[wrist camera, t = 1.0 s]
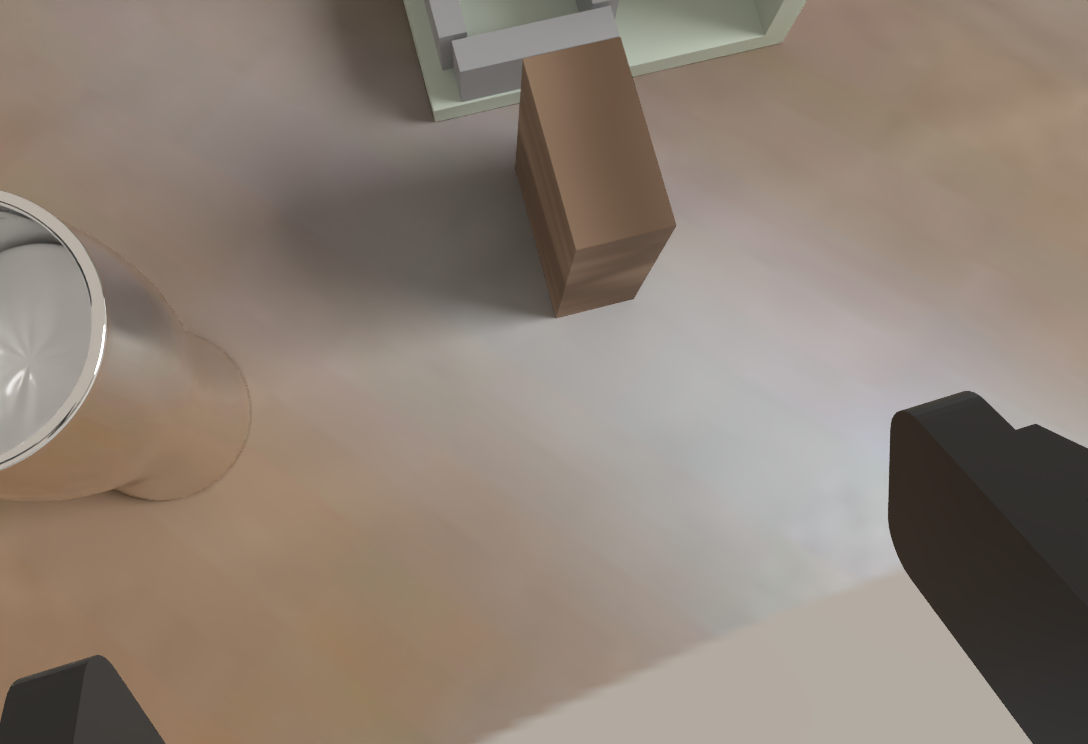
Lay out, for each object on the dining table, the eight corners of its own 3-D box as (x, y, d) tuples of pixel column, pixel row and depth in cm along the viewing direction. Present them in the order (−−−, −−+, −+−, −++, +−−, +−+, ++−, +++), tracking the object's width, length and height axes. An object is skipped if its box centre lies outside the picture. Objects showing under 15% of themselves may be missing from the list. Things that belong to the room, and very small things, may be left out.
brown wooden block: (556, 318, 38) (575, 250, 29) (515, 168, 39) (522, 58, 30) (633, 299, 39) (676, 225, 30) (591, 150, 39) (620, 36, 31)
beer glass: (131, 287, 38) (-101, 122, 23) (299, 374, 37) (176, 263, 23) (28, 457, 36) (-286, 398, 22) (202, 548, 36) (4, 550, 21)
